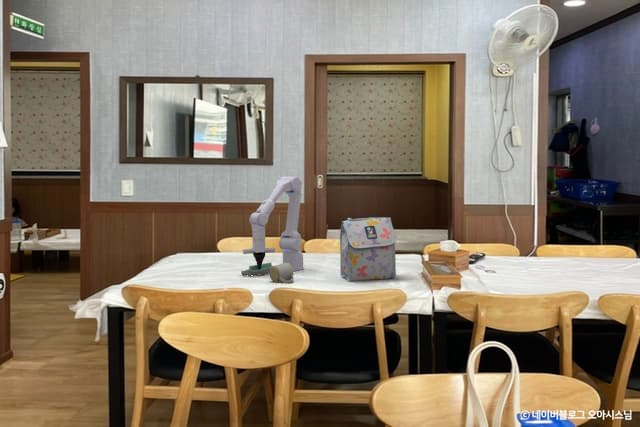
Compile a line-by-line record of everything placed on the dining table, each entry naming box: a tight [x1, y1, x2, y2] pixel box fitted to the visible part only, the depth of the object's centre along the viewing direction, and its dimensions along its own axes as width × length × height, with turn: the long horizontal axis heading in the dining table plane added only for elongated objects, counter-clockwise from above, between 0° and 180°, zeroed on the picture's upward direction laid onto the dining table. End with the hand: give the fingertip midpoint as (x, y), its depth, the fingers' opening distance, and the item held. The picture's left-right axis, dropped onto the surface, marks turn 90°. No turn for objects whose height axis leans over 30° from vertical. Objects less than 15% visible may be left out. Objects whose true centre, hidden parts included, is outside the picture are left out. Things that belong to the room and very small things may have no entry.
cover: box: [245, 262, 273, 272], centre depth 323 cm, size 16×5×2 cm, turn 141°
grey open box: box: [240, 269, 270, 277], centre depth 323 cm, size 17×6×2 cm, turn 133°
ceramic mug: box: [268, 262, 295, 284], centre depth 301 cm, size 11×8×8 cm
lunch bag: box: [339, 217, 397, 282], centre depth 307 cm, size 22×17×26 cm
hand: (259, 269), depth 318 cm, fingers closed
